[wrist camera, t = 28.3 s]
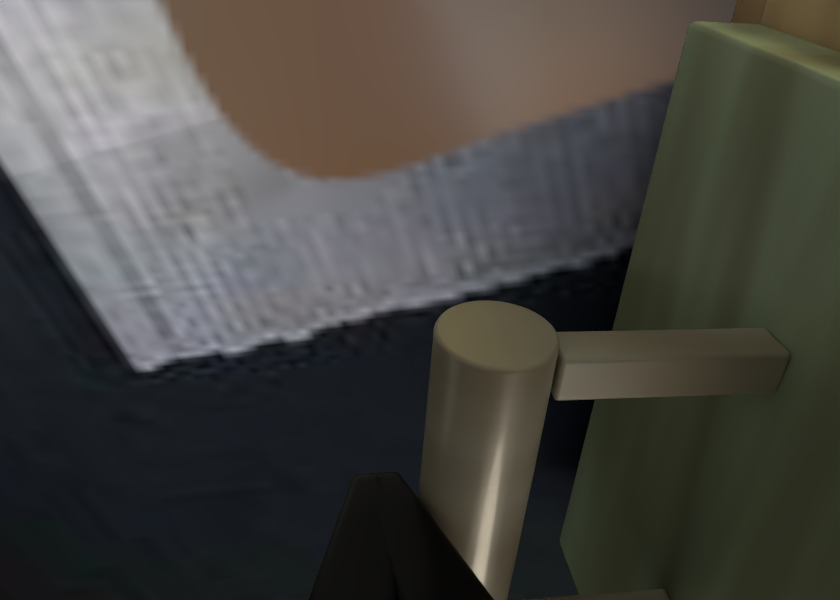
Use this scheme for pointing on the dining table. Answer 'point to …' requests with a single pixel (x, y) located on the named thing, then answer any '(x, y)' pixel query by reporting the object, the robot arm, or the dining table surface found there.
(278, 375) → the dining table surface
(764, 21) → the cabinet
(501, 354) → the drawer
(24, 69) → the dining table surface
